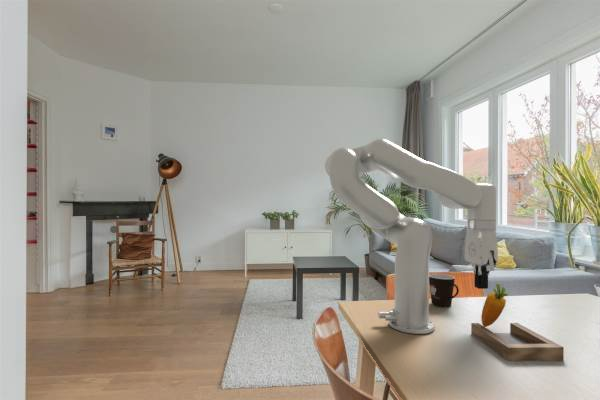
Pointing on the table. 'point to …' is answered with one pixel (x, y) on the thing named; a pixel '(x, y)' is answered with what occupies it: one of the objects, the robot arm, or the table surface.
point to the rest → (519, 343)
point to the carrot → (493, 306)
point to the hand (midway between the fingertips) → (481, 287)
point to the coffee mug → (442, 289)
